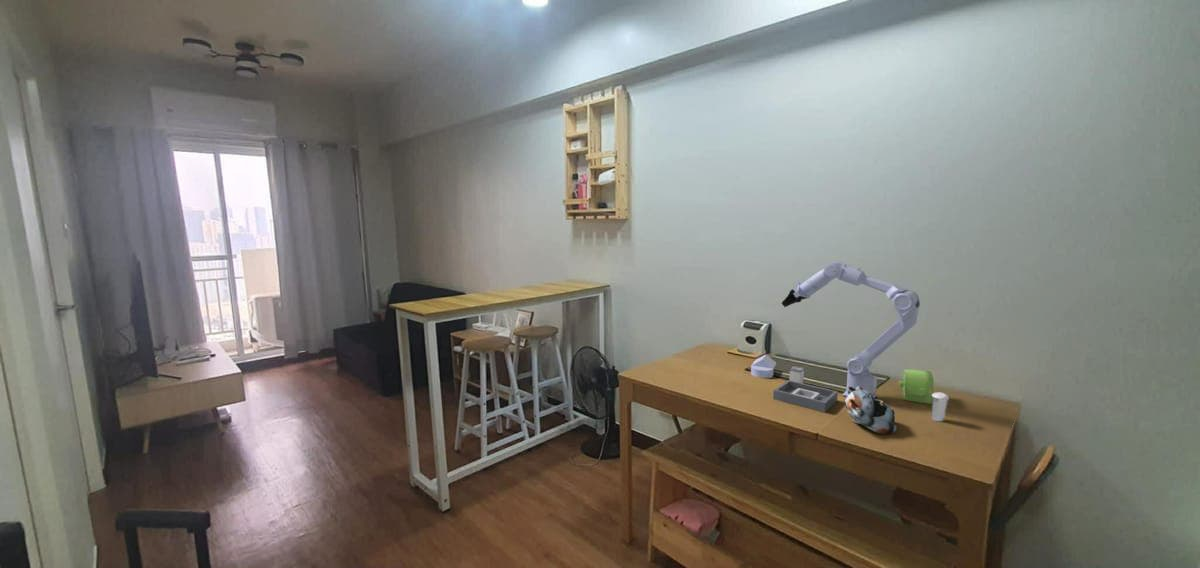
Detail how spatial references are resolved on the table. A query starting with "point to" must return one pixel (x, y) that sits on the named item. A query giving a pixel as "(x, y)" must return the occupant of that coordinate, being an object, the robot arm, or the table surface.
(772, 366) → the wedge on round base
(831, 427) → the table surface
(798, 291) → the robot arm
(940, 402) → the milkshake
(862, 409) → the lucky cat figurine
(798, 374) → the block
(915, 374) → the gearbox
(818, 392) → the housing
